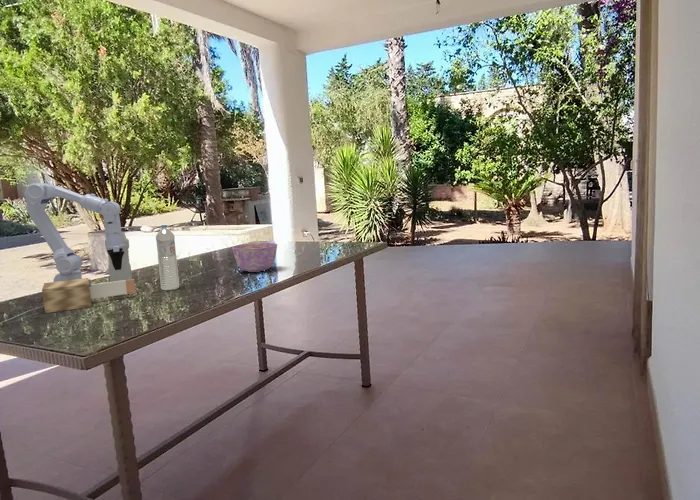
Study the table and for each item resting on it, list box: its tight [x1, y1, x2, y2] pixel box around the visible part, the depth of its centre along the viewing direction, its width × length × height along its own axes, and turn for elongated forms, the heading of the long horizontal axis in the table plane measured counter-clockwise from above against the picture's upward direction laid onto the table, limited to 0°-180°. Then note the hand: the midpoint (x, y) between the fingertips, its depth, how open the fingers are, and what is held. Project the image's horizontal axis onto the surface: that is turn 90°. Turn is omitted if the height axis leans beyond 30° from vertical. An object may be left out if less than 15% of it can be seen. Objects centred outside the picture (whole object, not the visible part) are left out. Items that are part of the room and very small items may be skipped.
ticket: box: [89, 278, 137, 300], centre depth 188 cm, size 19×1×5 cm, turn 117°
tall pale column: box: [104, 231, 133, 282], centre depth 223 cm, size 11×4×22 cm, turn 86°
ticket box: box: [41, 277, 93, 314], centre depth 183 cm, size 15×14×8 cm
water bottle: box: [155, 224, 180, 291], centre depth 202 cm, size 7×7×25 cm
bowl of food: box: [231, 242, 278, 273], centre depth 233 cm, size 20×20×12 cm
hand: (117, 268), depth 201 cm, fingers open, 7 cm apart
